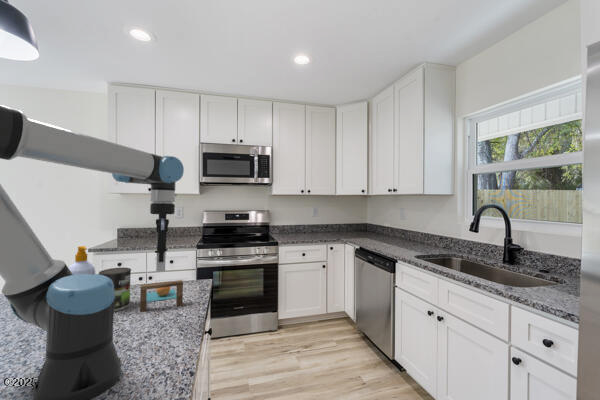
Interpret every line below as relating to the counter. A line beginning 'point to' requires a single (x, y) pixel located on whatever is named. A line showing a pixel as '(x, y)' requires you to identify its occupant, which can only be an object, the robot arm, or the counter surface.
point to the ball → (163, 291)
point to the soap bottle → (82, 263)
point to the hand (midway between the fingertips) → (160, 270)
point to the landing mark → (155, 297)
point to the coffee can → (119, 286)
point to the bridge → (160, 285)
